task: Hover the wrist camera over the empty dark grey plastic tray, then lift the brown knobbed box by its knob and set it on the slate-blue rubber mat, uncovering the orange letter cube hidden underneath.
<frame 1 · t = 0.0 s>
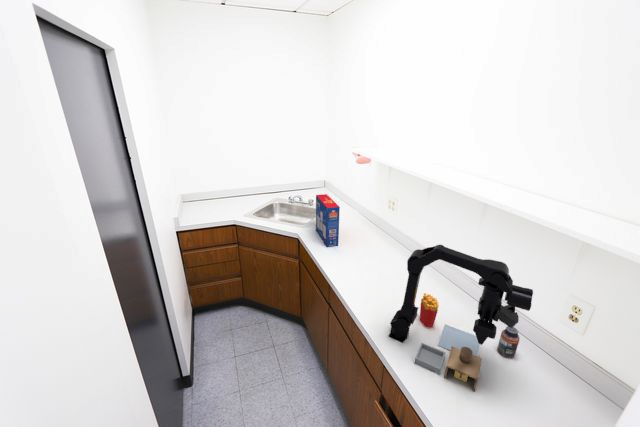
hand: (481, 335, 103), 15 cm above the worktop, fingers open, 9 cm apart
french fries: (426, 323, 129), on the worktop
mat: (459, 341, 119), on the worktop
letter cube: (460, 375, 105), on the worktop
brown knobbed box: (461, 374, 105), on the worktop
tray: (429, 360, 111), on the worktop
pasta box: (326, 238, 209), on the worktop
supplement bottle: (505, 352, 114), on the worktop
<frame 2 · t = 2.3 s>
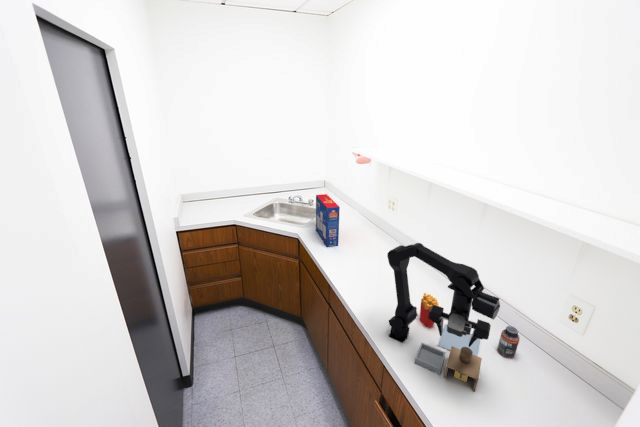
hand: (454, 340, 103), 13 cm above the worktop, fingers open, 9 cm apart
nothing on the worktop moved.
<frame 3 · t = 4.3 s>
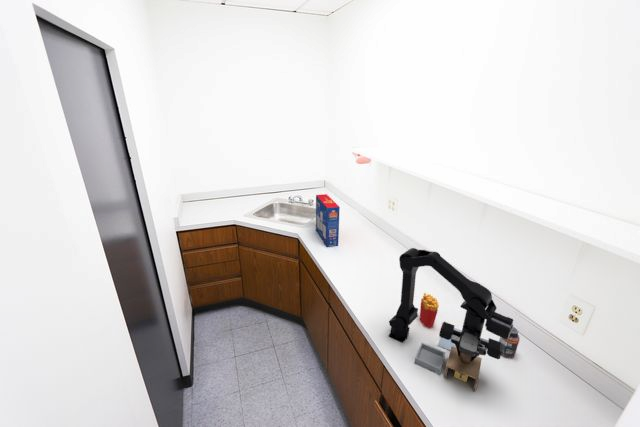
hand: (465, 357, 103), 7 cm above the worktop, fingers closed on brown knobbed box, 4 cm apart
brown knobbed box: (461, 374, 105), on the worktop, touching gripper
everything else where it was.
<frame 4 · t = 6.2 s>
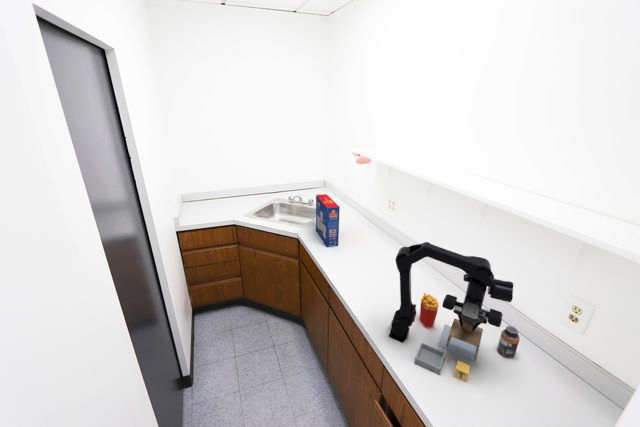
hand: (467, 328, 108), 13 cm above the worktop, fingers closed on brown knobbed box, 4 cm apart
brown knobbed box: (463, 344, 110), point 6 cm above the worktop, touching gripper
everything else where it was.
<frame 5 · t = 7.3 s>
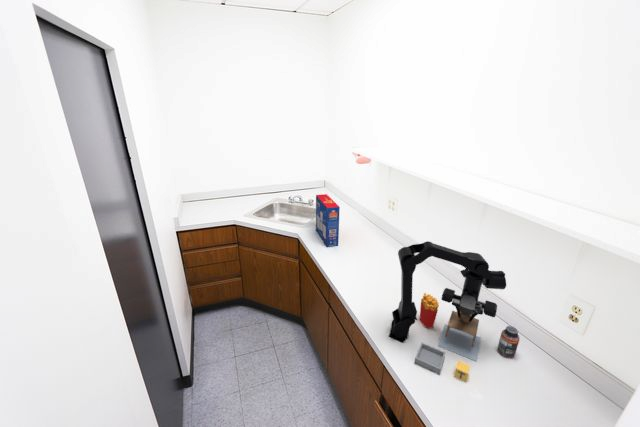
hand: (464, 319, 116), 11 cm above the worktop, fingers closed on brown knobbed box, 4 cm apart
brown knobbed box: (460, 334, 118), point 4 cm above the worktop, touching gripper
everything else where it was.
when the fingers open (8 cm above the worktop, at t = 7.9 s): brown knobbed box drops 1 cm, resting on mat.
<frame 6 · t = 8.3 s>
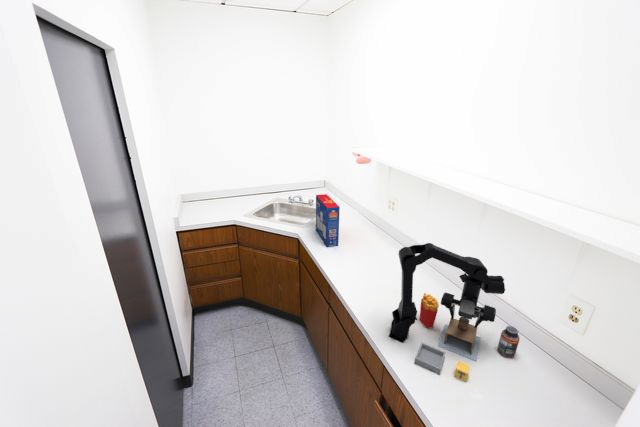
hand: (463, 323, 117), 8 cm above the worktop, fingers open, 8 cm apart
brown knobbed box: (459, 341, 119), resting on mat
everything else where it was.
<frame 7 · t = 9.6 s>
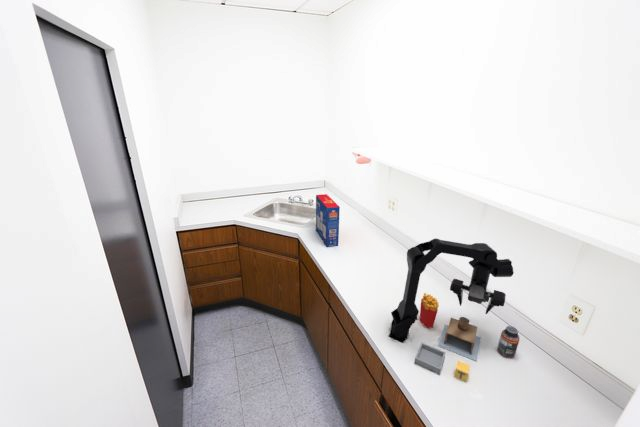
hand: (473, 309, 118), 13 cm above the worktop, fingers open, 9 cm apart
nothing on the worktop moved.
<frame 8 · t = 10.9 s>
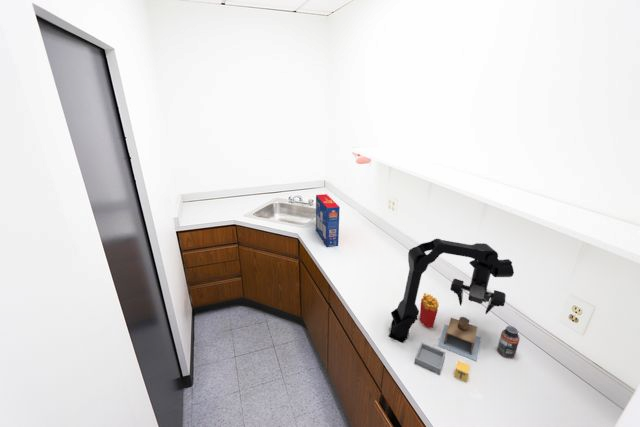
hand: (473, 309, 118), 13 cm above the worktop, fingers open, 9 cm apart
nothing on the worktop moved.
at the end: brown knobbed box inside the target area (0.1 cm from its centre), resting on mat; letter cube moved 0.1 cm from its start; the gripper is holding nothing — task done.
